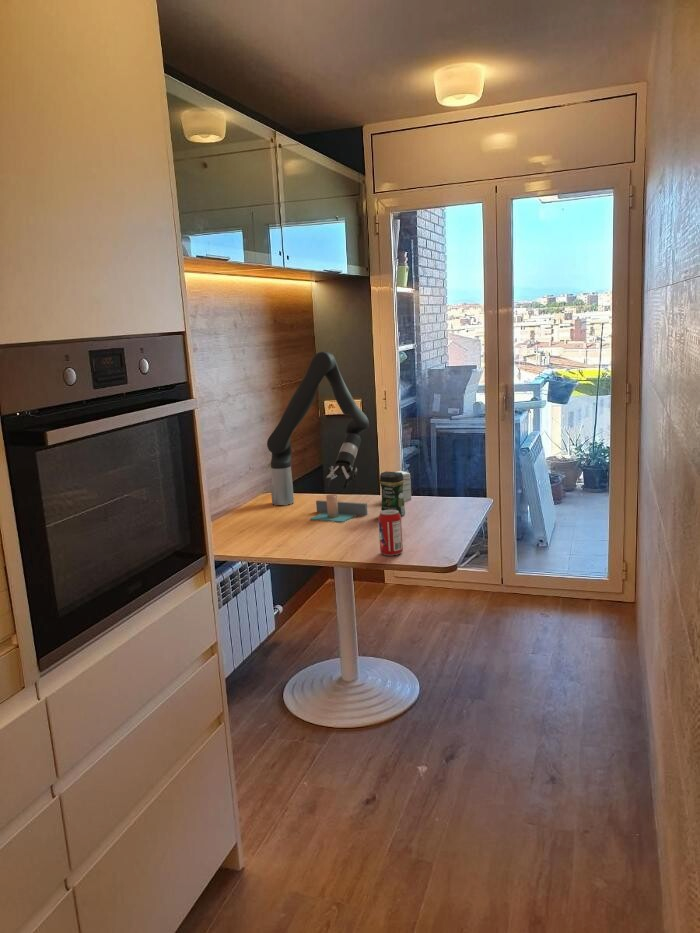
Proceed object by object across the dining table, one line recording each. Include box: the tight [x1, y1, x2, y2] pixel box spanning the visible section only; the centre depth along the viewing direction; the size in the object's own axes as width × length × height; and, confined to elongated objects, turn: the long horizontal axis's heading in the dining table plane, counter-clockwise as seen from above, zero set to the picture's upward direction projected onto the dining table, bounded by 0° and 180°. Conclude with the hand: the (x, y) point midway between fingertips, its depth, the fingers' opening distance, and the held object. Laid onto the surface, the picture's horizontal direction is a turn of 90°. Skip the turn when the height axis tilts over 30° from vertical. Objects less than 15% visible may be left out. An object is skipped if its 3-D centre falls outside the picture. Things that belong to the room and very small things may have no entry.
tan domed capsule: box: [325, 493, 339, 518], centre depth 306 cm, size 4×4×9 cm
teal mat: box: [309, 512, 357, 523], centre depth 307 cm, size 16×11×1 cm
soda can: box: [377, 509, 404, 557], centre depth 252 cm, size 8×8×15 cm
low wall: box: [315, 499, 368, 517], centre depth 313 cm, size 24×2×5 cm, turn 61°
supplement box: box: [396, 470, 412, 502], centre depth 329 cm, size 7×7×13 cm
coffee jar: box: [379, 470, 406, 518], centre depth 302 cm, size 10×8×19 cm
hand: (335, 487), depth 308 cm, fingers open, 8 cm apart
